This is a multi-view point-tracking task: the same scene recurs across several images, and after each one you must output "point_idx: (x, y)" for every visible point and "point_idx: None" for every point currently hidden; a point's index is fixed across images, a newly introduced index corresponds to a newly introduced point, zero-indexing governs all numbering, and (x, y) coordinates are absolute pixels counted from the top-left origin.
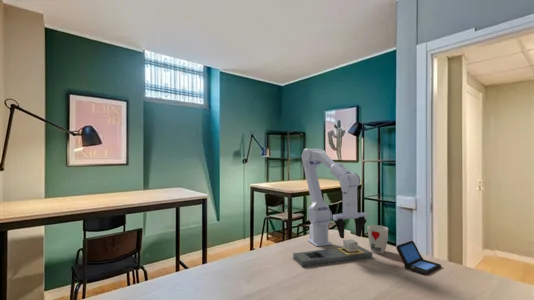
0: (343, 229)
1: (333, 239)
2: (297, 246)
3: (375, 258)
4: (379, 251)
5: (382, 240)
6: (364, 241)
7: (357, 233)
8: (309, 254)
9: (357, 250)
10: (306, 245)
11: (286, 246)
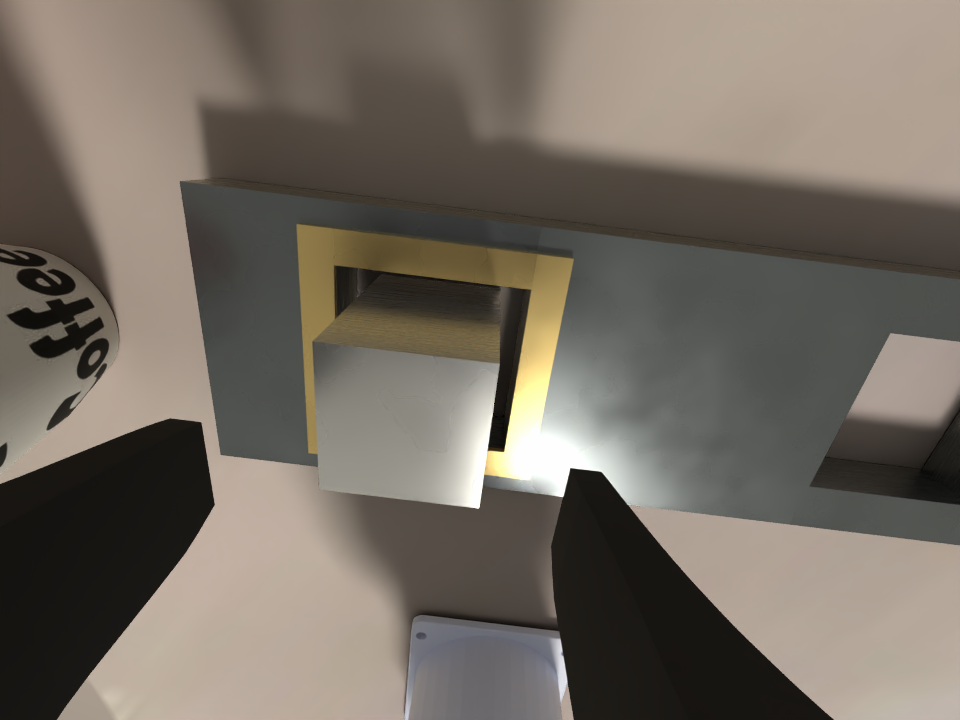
0: (684, 638)
1: (322, 688)
2: None
3: (194, 143)
4: (37, 258)
5: None
6: None
7: (174, 501)
8: (897, 488)
9: (361, 298)
10: None
11: None
